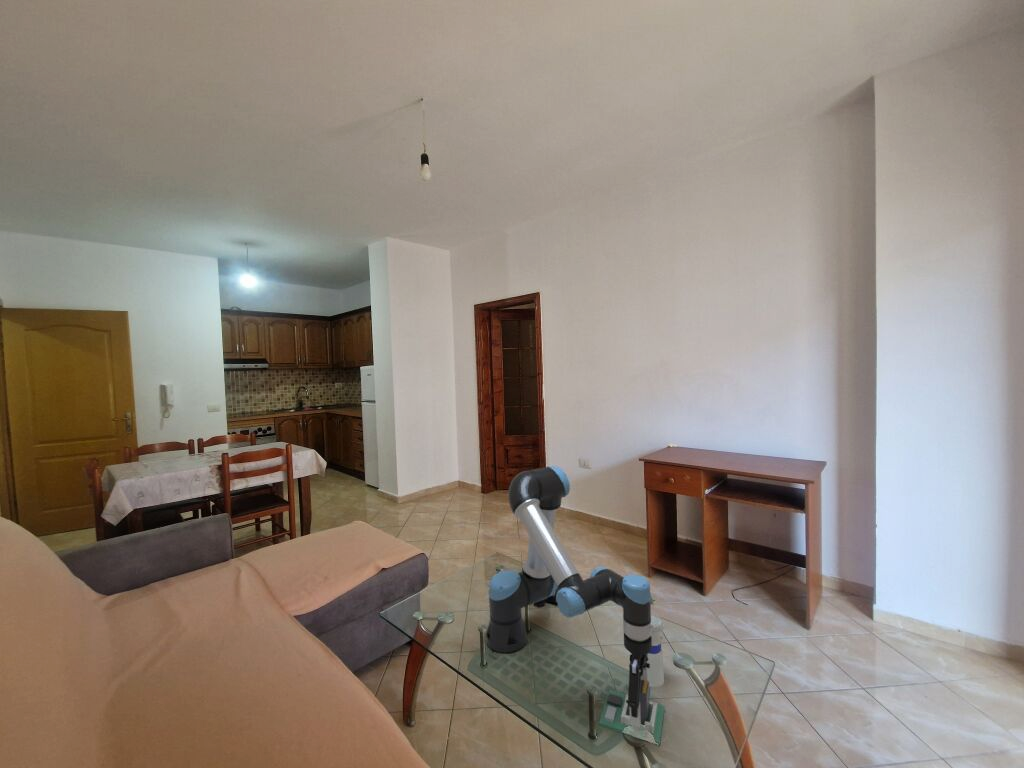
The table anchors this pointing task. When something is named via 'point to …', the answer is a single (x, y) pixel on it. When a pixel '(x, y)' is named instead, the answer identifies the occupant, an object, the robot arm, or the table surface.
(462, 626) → the table surface
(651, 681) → the water bottle
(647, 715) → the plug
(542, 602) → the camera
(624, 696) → the board
